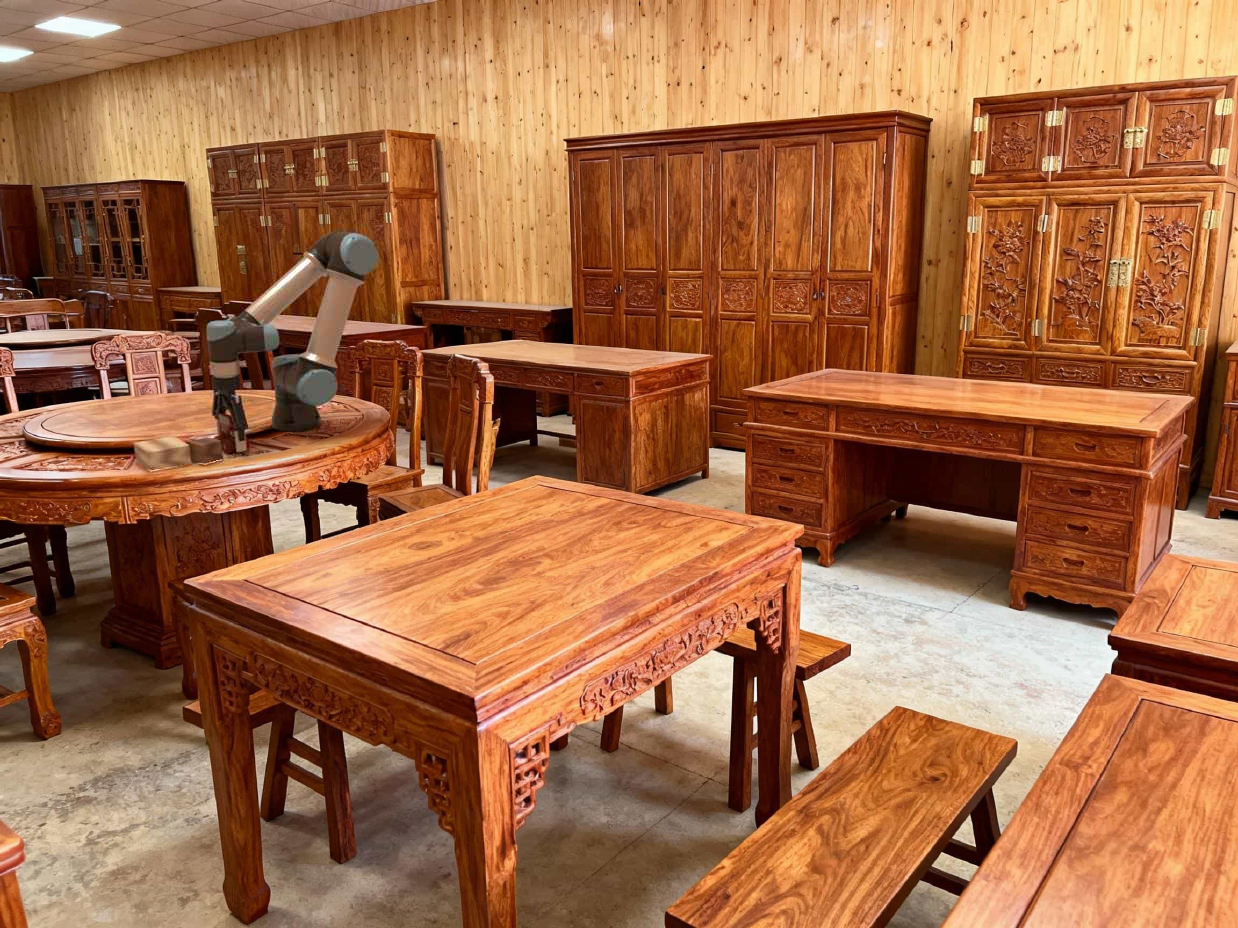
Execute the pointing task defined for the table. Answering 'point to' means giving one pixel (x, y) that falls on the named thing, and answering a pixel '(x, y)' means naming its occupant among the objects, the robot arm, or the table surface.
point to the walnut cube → (205, 450)
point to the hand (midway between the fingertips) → (232, 445)
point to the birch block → (162, 453)
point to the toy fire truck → (228, 433)
